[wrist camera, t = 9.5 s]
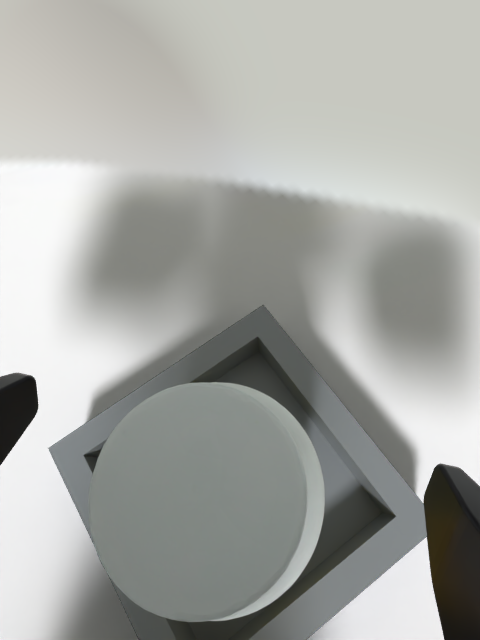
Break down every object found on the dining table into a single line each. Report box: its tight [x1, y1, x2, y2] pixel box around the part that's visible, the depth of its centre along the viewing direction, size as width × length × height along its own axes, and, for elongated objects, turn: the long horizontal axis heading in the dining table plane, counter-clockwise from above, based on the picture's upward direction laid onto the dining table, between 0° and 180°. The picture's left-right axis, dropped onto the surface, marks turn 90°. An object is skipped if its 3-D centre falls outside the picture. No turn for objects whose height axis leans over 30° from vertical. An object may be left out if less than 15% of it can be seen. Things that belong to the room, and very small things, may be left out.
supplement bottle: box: [89, 382, 325, 622], centre depth 12 cm, size 5×5×10 cm
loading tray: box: [48, 305, 427, 640], centre depth 16 cm, size 10×10×2 cm
